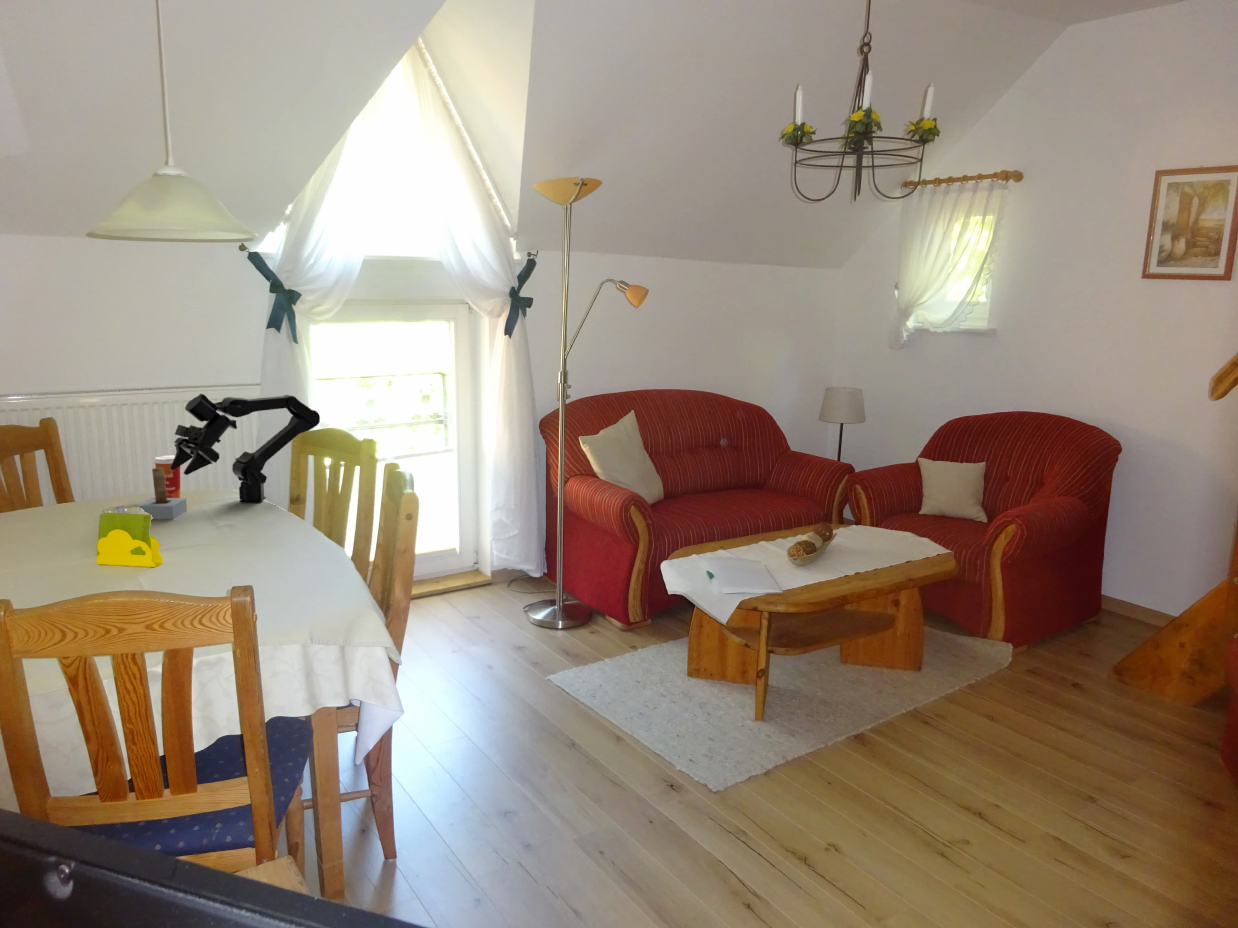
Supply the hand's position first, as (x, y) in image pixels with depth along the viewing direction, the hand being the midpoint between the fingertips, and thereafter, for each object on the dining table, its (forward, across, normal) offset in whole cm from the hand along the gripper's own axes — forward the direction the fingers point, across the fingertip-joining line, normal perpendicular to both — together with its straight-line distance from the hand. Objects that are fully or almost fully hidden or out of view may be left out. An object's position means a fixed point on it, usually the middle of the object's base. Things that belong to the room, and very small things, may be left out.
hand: (178, 471), depth 253 cm
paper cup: (+7, -16, +12) cm, 21 cm away
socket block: (+13, 0, +5) cm, 14 cm away
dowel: (+12, 0, +4) cm, 13 cm away
